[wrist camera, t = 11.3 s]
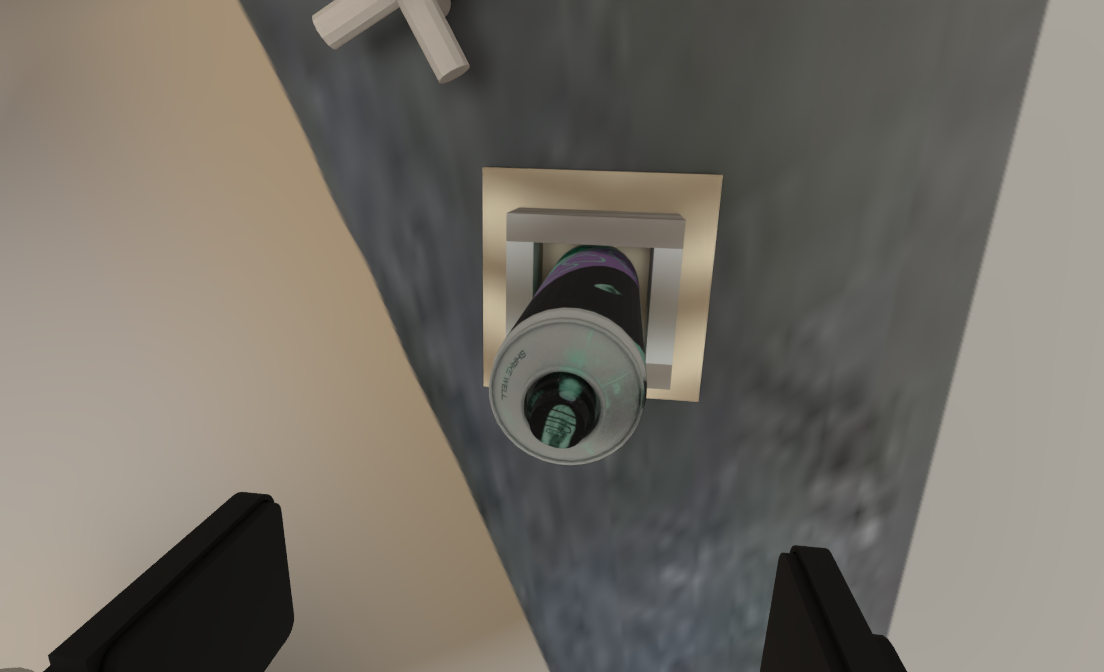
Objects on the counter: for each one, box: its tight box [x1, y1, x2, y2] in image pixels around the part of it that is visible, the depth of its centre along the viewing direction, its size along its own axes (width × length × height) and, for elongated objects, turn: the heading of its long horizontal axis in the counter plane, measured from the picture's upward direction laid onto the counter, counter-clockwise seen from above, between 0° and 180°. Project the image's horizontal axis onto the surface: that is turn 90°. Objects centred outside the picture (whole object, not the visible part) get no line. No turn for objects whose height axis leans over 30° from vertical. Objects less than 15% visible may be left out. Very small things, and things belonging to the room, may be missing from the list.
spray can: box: [489, 245, 647, 465], centre depth 27 cm, size 6×6×20 cm
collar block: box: [483, 167, 723, 402], centre depth 35 cm, size 14×14×5 cm
